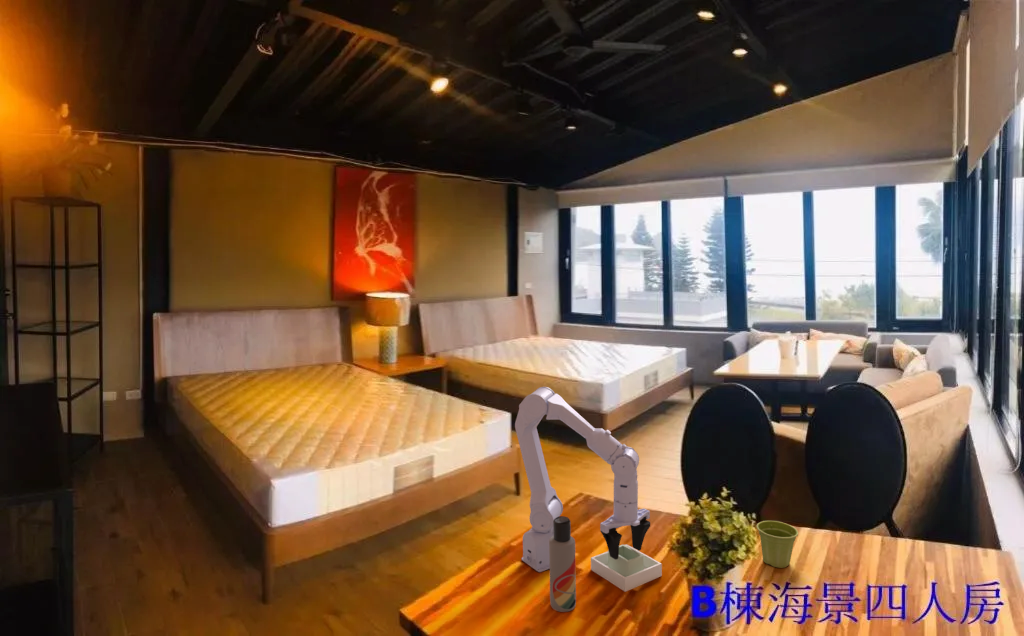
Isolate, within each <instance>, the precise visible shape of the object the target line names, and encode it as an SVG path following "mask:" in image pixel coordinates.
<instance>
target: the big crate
mask: <svg viewBox="0 0 1024 636" xmlns="http://www.w3.org/2000/svg"><path fill="white" fill-rule="evenodd" d="M624 545H625V546H627V547H629V548H631V549H632V550H634V551H636V552H638V553H640V554H642V555H643V556H644V570H642V571H639V572H637V573H634V574H632V575H630V576H627V577H624V576H622V575H621V574H619V573H617V572H616V571H614V570H612V569H611V568H609V567H608V550H607V551H605V552H603V553H600V554H596V555H595V556H591V557H590V570H591V571H592V572H594V573H595V574H597V575H598V576H600V577H602V578H603V579H605V580H606V581H608V582H609V583H611V584H613V585H614V586H615V587H617V588H619V589H620V590H622V591H623V592H624V593H625V592H628V591H630V590H632V589H635V588H637V587H640V586H642V585H644V584H647V583H649V582H651V581H654V580H655V579H658V578H659V577H662V575H663V572H662V570H663V563H661V562H659V561H658V560H656V559H654V558H653V557H651V556H649V555H647V554H645V553H643V552H641V550H639V551H638V550H637V549H635V548H633V546H630V545H629V544H624Z"/></svg>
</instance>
